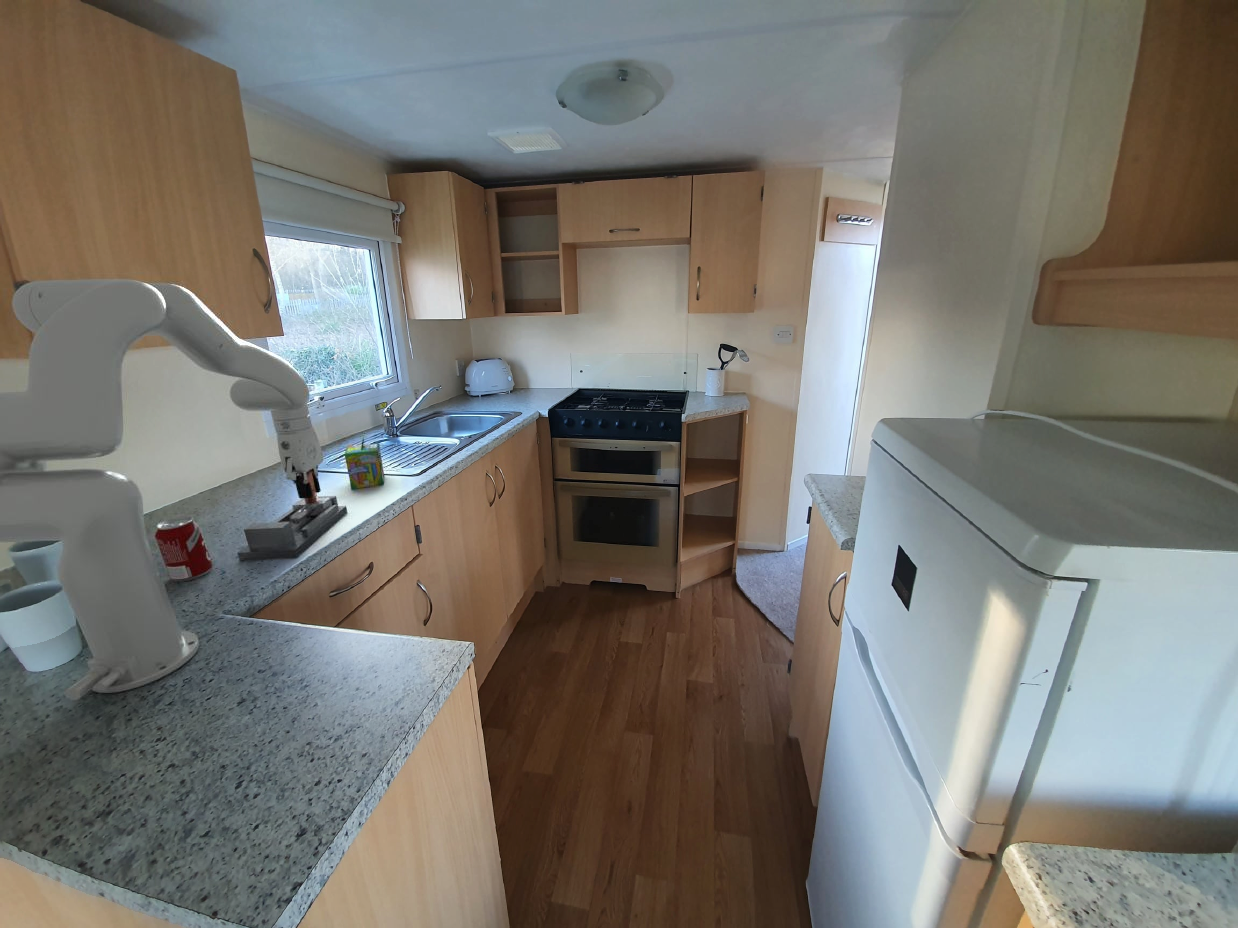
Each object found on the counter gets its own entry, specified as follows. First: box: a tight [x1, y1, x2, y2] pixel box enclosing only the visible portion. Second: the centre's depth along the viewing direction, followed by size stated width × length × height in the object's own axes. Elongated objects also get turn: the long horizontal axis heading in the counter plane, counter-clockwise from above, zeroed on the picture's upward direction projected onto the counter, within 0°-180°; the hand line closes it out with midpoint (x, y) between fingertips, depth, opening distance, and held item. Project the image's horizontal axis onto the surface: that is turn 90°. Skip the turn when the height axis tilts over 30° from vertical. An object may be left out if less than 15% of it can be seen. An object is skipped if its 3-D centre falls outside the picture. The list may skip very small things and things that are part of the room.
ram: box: [290, 470, 332, 524], centre depth 119 cm, size 10×7×11 cm
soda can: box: [154, 516, 213, 582], centre depth 98 cm, size 7×7×12 cm
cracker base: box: [237, 495, 348, 562], centre depth 115 cm, size 24×12×7 cm, turn 4°
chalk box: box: [344, 435, 385, 490], centre depth 147 cm, size 9×9×15 cm
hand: (310, 494), depth 122 cm, fingers closed on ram, 2 cm apart
